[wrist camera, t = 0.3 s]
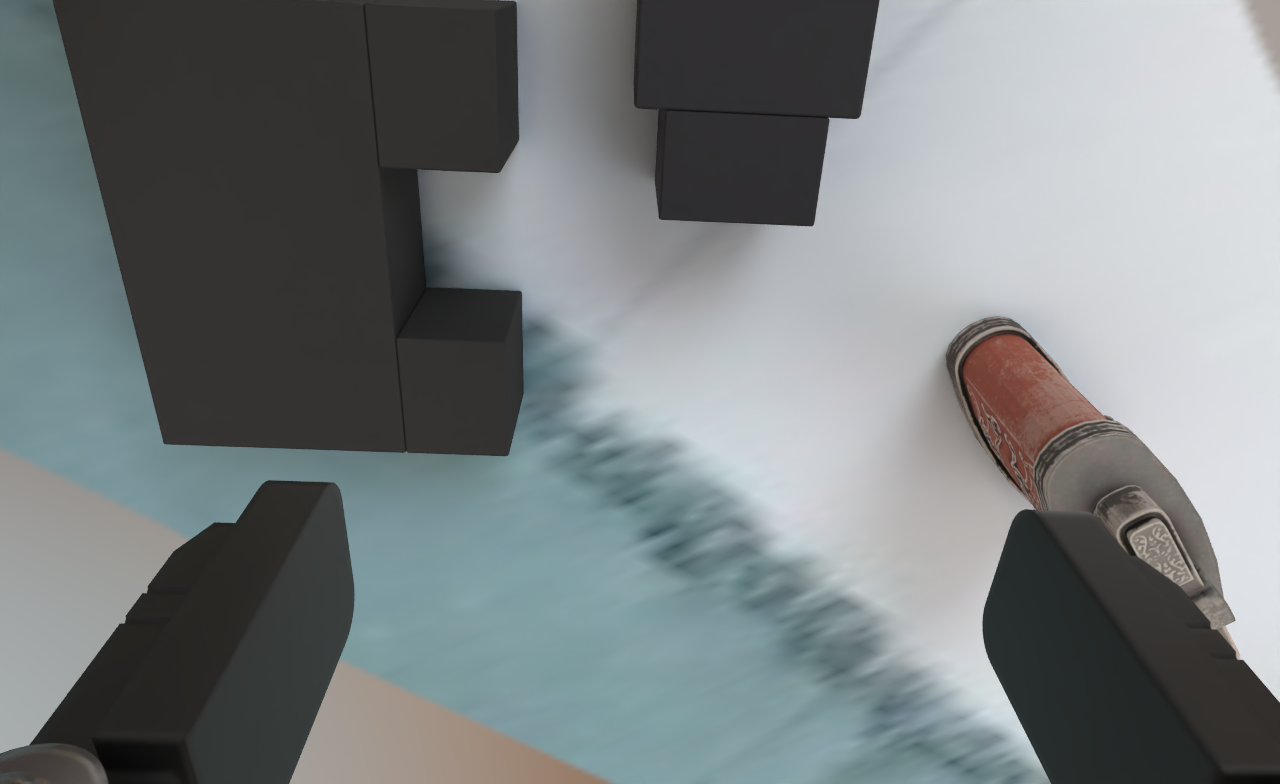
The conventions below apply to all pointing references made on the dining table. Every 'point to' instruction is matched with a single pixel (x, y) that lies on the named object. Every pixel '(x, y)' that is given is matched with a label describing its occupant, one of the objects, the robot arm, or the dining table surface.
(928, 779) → the dining table surface
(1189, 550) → the lighter
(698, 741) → the dining table surface
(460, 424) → the notch pad
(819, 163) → the pad
